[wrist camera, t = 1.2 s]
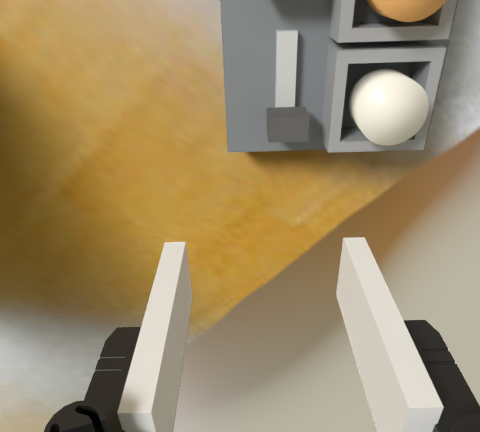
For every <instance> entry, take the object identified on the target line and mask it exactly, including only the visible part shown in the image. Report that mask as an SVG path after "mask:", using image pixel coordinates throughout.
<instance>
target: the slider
mask: <svg viewBox="0 0 480 432" xmlns="http://www.w3.org/2000/svg"><path fill="white" fill-rule="evenodd" d="M308 133H309V114H308V112H307V110H306V108H305V107H273V108H267V136H268V142H269V143H271V142H307V141H308Z"/></svg>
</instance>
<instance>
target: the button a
mask: <svg viewBox="0 0 480 432" xmlns="http://www.w3.org/2000/svg"><path fill="white" fill-rule="evenodd" d="M348 108H349V113H350V116H351V118H352V119H353V121H354V122H355V124H356V125H357V126H358V127H359V129H360V130H361V131H362V133H363V134H364V135H365V137H366V138H367V139H369V140H370V141H371V142H373V143H375V144H378V145H383V146H390V145H396V144H399V143H402V142H404V141H406V140H408V139H410V138H411V137H412V136H414V135H415V134H416V133H417V132H418V131H419V130H420V128H421V127H422V125H423V124H424V122H425V120H426V117H427V114H428V109H429V101H428V97H427V94H426V92H425V90H424V89H423V87H422V86H421V85H420V84H418V83H417V82H415V81H414V80H412V79H411V78H409V77H407V76H406V75H404V74H403V73H401V72H399V71H397V70H395V69H391V68H380V69H376V70H373V71H371V72H369V73H367V74H365V75H364V76H363V77H361V78H360V79H359V80H358V81H357V83H356V84H355V85H354V87H353V89H352V91H351V93H350V96H349V101H348Z"/></svg>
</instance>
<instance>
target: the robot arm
mask: <svg viewBox="0 0 480 432" xmlns="http://www.w3.org/2000/svg"><path fill="white" fill-rule="evenodd" d="M336 296H337V299H338V302H339V306H340V309H341V313H342V316H343V319H344V323H345V326H346V329H347V333H348V336H349V340H350V343H351V346H352V350H353V353H354V356H355V360H356V363H357V367H358V370H359V373H360V377H361V380H362V384H363V386H364V390H365V393H366V397H367V400H368V404H369V407H370V410H371V414H372V417H373V420H374V424H375V427H376V431H377V432H480V406H479V404H478V402H477V401H476V399H475V397H474V395H473V393H472V392H471V390H470V388H469V386H468V384H467V383H466V381H465V379H464V377H463V375H462V373H461V372H460V370H459V368H458V366H457V364H455V361H454V359H453V357H452V355H451V353H450V352H449V351H448V348H447V346H446V344H445V342H444V341H443V339H442V337H441V335H440V333H439V332H438V331H437V330H435V329H434V328H433V327H432V326H431V325H430V324H429V323H428V322H427V321H426V320H408V321H403V319H402V317H401V315H400V313H399V310H398V308H397V307H396V304H395V302H394V300H393V298H392V295H391V293H390V291H389V289H388V287H387V285H386V282H385V280H384V278H383V276H382V274H381V272H380V270H379V267H378V265H377V263H376V261H375V259H374V257H373V255H372V252H371V250H370V248H369V246H368V244H367V242H366V240H365V238H364V237H362V238H343V245H342V253H341V261H340V269H339V277H338V284H337V292H336ZM191 305H192V290H191V281H190V273H189V265H188V257H187V249H186V242H165V243H164V247H163V250H162V254H161V258H160V261H159V265H158V268H157V272H156V276H155V279H154V283H153V286H152V290H151V294H150V297H149V301H148V304H147V308H146V312H145V315H144V319H143V322H142V326H141V327H122V328H116V329H115V331H114V332H113V333H112V334H111V335H110V336H109V338H108V339H107V340H106V341H105V344H104V347H103V350H102V352H101V355H100V359H99V360H98V363H97V366H96V371H95V372H94V374H93V377H92V380H91V382H90V385H89V388H88V391H87V393H86V396H85V399H84V401H76V402H74V403H71V404H69V405H67V406H64V407H63V408H62V409H61V410H59V411H58V412H57V413H56V414H54V415H53V417H52V418H51V419H50V421H49V422H48V424H47V425H46V427H45V430H44V432H173V428H174V421H175V414H176V407H177V400H178V394H179V387H180V380H181V373H182V367H183V359H184V352H185V346H186V339H187V332H188V326H189V319H190V312H191Z"/></svg>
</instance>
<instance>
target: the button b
mask: <svg viewBox="0 0 480 432" xmlns="http://www.w3.org/2000/svg"><path fill="white" fill-rule="evenodd" d="M366 2H367V4H368V5H369V7H370V8H371V9H372V10H373V11H375V12H376V13H378V14H379V15H382V16H385V17H388V18H392V19H395V20H398V21H402V22H415V21H419V20H422V19H425V18H427V17H428V16H430V15H432V14H433V13H435V12H436V11H437V10H438V9H439V8H440V7H441V6H442V5H443V4H444V3H445V2H446V0H366Z"/></svg>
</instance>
